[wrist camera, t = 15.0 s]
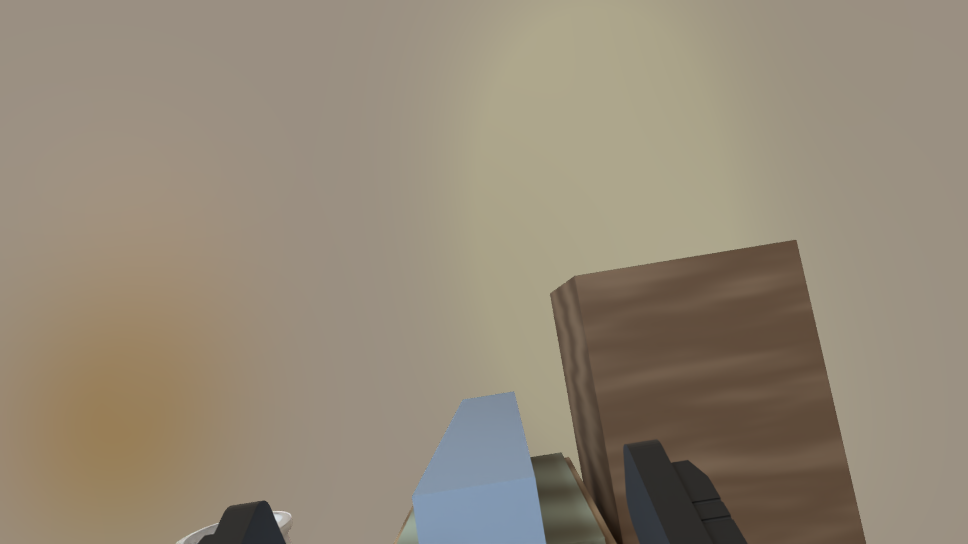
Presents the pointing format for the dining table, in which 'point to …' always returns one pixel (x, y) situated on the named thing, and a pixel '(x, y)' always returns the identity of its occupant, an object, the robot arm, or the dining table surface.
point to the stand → (710, 389)
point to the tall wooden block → (552, 506)
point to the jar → (191, 540)
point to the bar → (480, 480)
